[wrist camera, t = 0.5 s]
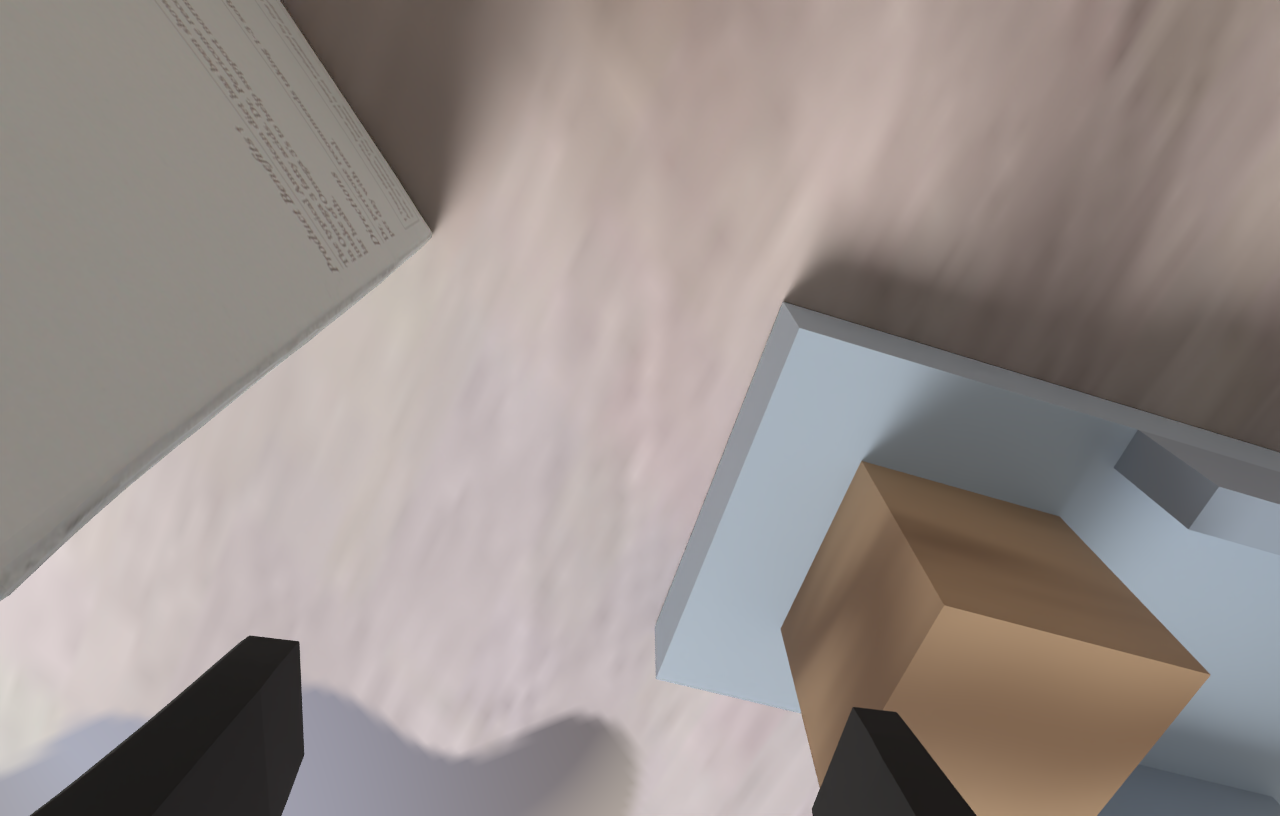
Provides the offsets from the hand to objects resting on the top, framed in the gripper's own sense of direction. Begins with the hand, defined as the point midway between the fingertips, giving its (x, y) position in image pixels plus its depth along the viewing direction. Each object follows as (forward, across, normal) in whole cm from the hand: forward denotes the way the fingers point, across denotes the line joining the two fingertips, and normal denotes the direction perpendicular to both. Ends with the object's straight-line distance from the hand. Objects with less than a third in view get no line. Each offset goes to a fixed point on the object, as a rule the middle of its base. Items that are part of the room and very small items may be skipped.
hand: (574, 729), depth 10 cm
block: (+7, -8, +2) cm, 11 cm away
